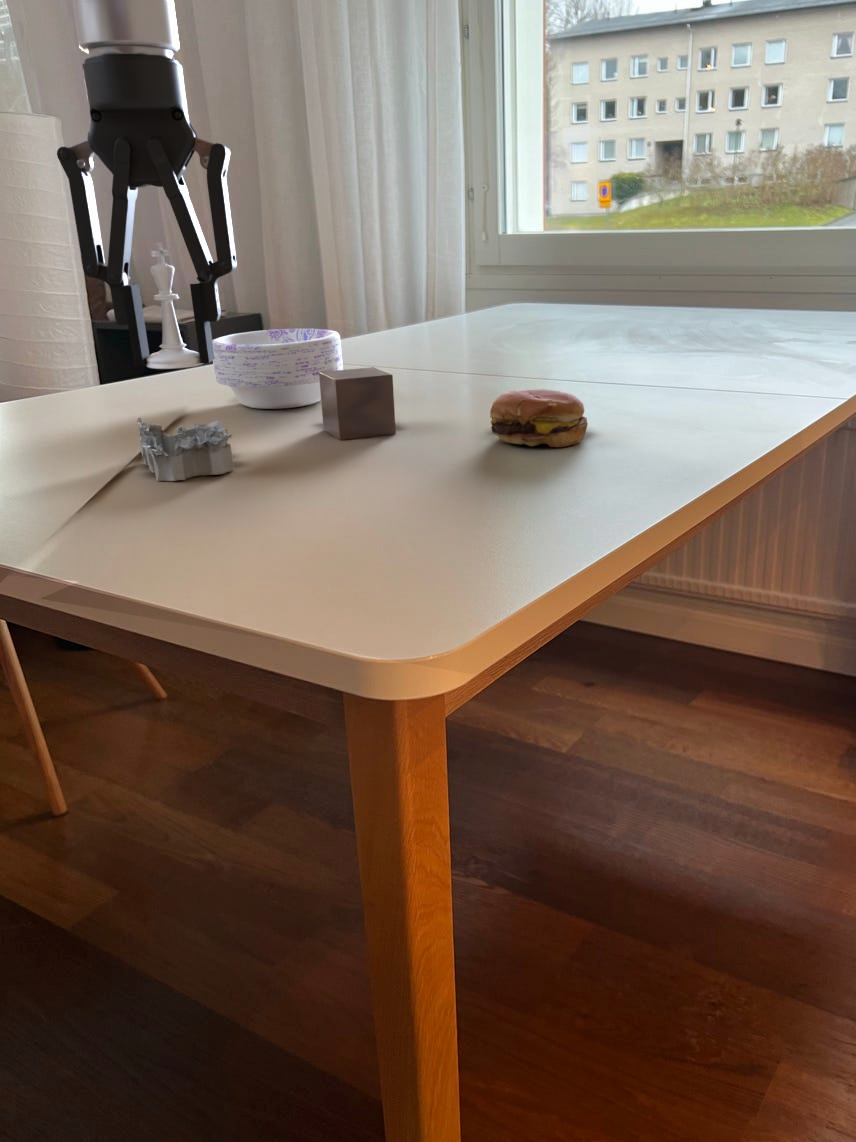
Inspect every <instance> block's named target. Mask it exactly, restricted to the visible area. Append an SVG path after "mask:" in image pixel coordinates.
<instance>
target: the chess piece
mask: <svg viewBox="0 0 856 1142" xmlns="http://www.w3.org/2000/svg"><path fill="white" fill-rule="evenodd" d="M154 249H155V250H150V256H151V257H156V263H155V265H152V266H150V268H149V271H150V274H151V276H152V278H153V281H154V283H155V285H156V287H157V290H158V293H157V294H155V295H153V298H152V300H154V301H160V305H161V332H162V338H161V340H162V341H161V344H160V345H159V346H158V348H161V349H160V350H159V351H157V352H153V353H151V354H149V356H148V357H147V358H146V360H147V362H148V363H146V364H145V365H146V367H147V368H149V369H153V370H154V369H156V370H173V369H174V370H175V369H186V368H193V367H199V366H201V365H203V364H205V363H200V356H199V351H195V350H193V349H188V348H186V346H187V344H186V343H185V342H183V337H182V336H181V332H180V331H181V330H180V328H179V323H178V320H177V317H176V316H177V315H176V311H175V308H174V303H173V301H175V300H179V299H180V296H179V294H178V293H173V291H172V287H173V280H174V275H175V266H173V265H172V264H171V265H170V264H168V263H166V260H165V257H166V256H167V257H168V256H170V253H169V249H164V246H163V242H162V241H161V242H159V241H158V242H154Z"/></svg>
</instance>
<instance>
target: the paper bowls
mask: <svg viewBox="0 0 856 1142" xmlns="http://www.w3.org/2000/svg"><path fill="white" fill-rule="evenodd" d="M212 343H213V351H214V360H212V364H213V373H214V374H213V375H214V376H215V382H216V383H217V384H219V385H223V386H227V387H229V388H230V390H231V391H232V393H233V395H234V397H235V398H236V400H237V401H238V403H240V404H241V405H242V406H244V407H247V408H251V409H261V410H277V409H278V410H279V409H281V410H282V409H292V408H299V407H304V406H305V407H306V406H309V405H310V406H311V405H314V404H316V403H318V402H321V392H320V380H319V372H324V371H336V370H344V365H343V352H342V346H341V345H342V343H341V335H340V333H339V332H338V331H335V330H330V329H323V328H278V329H277V328H276V329H265V330H264V329H263V330H255V331H246V332H237V333H233V334H228V335H224V336H220V337H217V338H214V339H212Z"/></svg>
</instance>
